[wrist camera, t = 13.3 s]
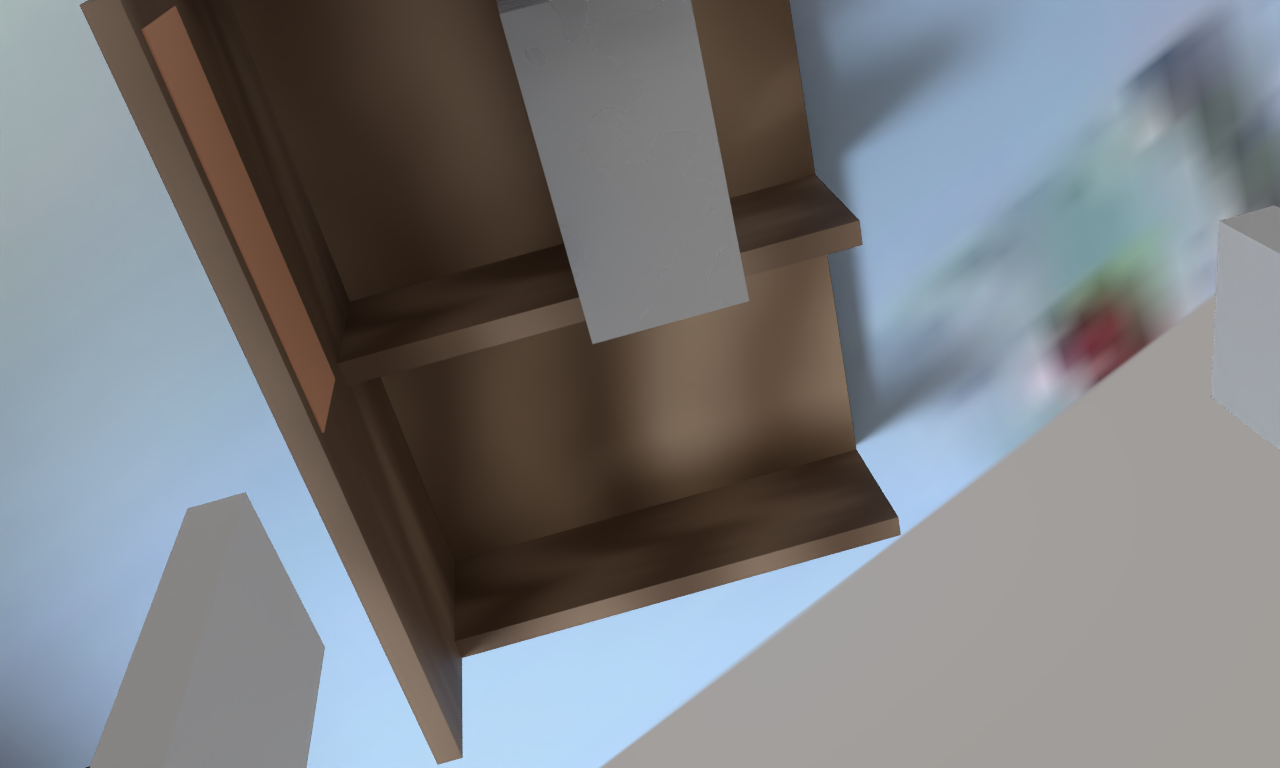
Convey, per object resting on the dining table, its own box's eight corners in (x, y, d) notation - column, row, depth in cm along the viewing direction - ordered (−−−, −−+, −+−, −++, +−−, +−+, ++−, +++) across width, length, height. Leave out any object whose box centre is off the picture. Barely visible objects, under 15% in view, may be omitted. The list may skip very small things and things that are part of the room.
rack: (440, 567, 42) (436, 765, 34) (184, -52, 31) (77, 5, 22) (850, 452, 43) (952, 619, 34) (750, -202, 31) (864, -203, 22)
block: (558, 209, 35) (592, 344, 26) (487, -45, 31) (499, 14, 22) (676, 177, 35) (749, 301, 26) (620, -81, 31) (683, -35, 22)
